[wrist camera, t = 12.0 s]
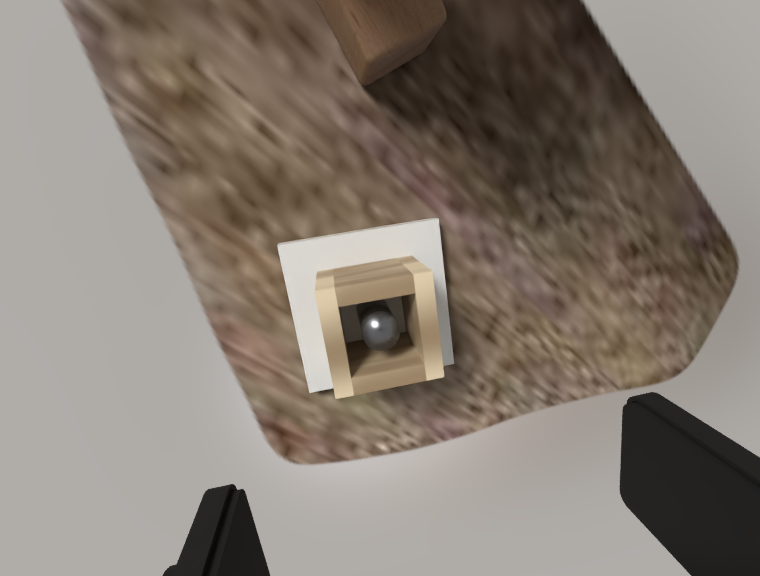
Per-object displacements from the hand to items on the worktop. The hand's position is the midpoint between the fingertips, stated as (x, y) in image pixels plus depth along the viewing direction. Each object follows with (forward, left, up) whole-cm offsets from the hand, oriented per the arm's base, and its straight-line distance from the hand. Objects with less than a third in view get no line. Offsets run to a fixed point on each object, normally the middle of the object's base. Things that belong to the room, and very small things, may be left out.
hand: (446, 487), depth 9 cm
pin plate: (0, 0, -17) cm, 17 cm away
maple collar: (0, 0, -16) cm, 16 cm away
